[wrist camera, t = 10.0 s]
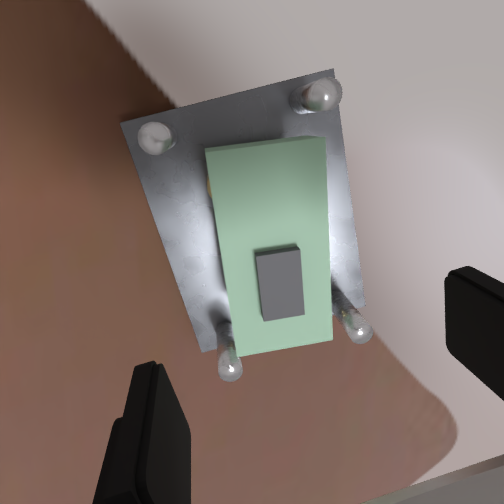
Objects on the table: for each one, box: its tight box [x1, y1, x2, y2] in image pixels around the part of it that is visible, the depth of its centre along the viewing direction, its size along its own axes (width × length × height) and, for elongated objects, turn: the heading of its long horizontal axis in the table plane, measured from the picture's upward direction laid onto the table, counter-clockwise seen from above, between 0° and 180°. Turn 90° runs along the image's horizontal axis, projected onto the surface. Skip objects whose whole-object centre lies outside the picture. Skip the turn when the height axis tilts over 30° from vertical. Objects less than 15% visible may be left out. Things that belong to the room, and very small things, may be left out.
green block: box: [205, 135, 333, 357], centre depth 20 cm, size 12×6×4 cm, turn 6°
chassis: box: [120, 69, 373, 382], centre depth 23 cm, size 18×14×6 cm
